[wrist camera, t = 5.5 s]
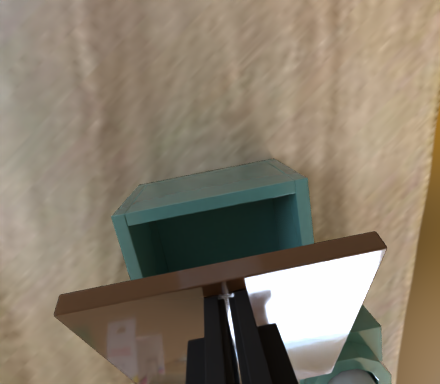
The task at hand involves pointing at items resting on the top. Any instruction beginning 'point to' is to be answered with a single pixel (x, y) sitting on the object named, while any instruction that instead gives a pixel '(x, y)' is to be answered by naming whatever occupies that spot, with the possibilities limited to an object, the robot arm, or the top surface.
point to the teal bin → (213, 218)
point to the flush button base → (359, 352)
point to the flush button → (352, 377)
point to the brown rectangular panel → (223, 288)
